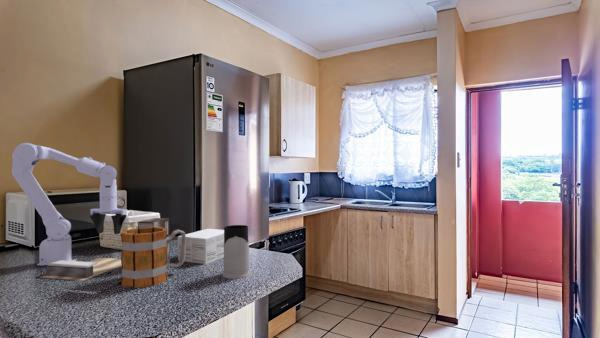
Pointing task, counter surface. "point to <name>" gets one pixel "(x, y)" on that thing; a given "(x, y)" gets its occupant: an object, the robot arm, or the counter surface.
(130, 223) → the storage basket
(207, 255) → the supplement box
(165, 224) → the coffee box
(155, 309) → the counter surface
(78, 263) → the plate
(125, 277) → the mug
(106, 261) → the board
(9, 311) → the counter surface
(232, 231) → the glass holder
